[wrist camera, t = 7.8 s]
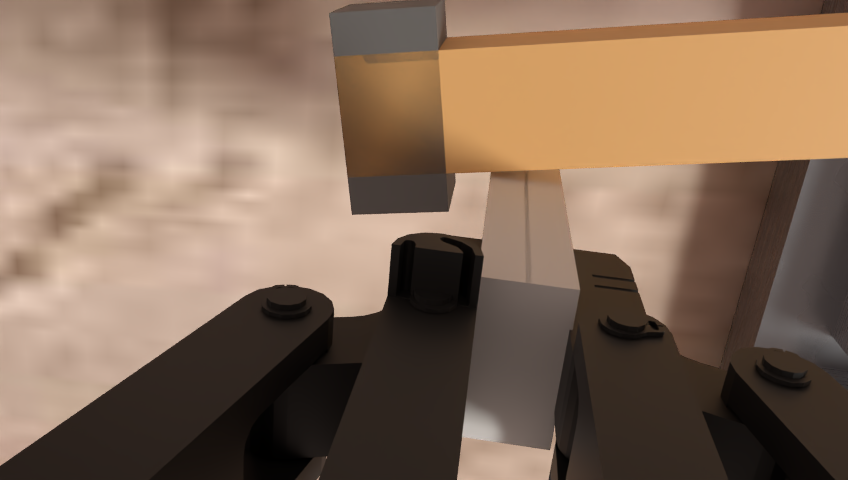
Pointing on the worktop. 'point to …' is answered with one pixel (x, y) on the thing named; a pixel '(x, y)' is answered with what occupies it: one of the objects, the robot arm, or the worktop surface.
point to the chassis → (800, 265)
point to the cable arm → (576, 98)
